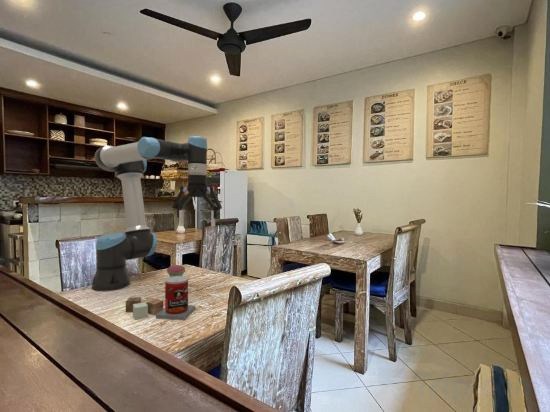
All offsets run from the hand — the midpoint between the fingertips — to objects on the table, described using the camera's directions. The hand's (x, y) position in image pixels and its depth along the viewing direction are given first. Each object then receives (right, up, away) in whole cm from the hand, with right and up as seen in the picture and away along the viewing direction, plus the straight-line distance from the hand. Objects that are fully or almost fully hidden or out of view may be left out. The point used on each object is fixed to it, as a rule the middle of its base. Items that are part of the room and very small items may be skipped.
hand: (197, 226), depth 123 cm
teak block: (-10, -29, -18) cm, 36 cm away
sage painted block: (-14, -29, -22) cm, 39 cm away
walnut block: (-19, -29, -16) cm, 38 cm away
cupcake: (-16, -28, +23) cm, 39 cm away
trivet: (-2, -29, -19) cm, 35 cm away
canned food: (-2, -28, -19) cm, 34 cm away
